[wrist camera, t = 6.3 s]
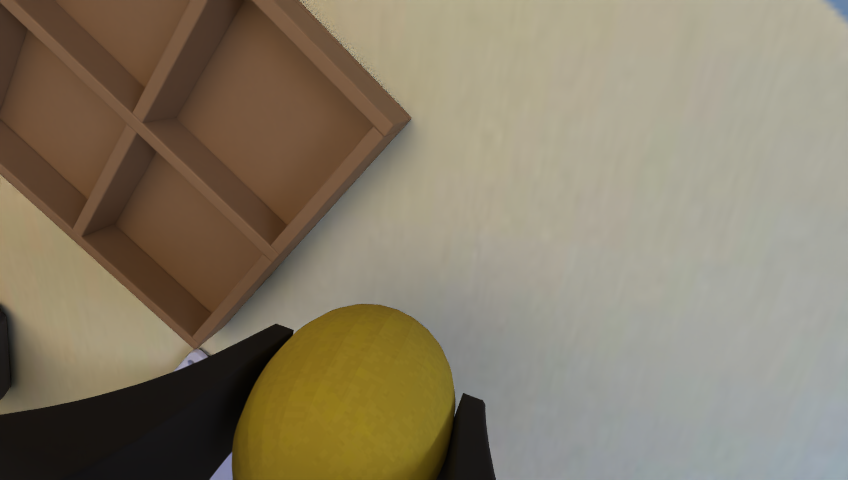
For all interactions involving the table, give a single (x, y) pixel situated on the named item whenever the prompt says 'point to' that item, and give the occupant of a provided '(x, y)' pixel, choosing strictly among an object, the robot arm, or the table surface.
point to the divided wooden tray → (184, 138)
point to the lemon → (349, 402)
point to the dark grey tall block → (4, 357)
